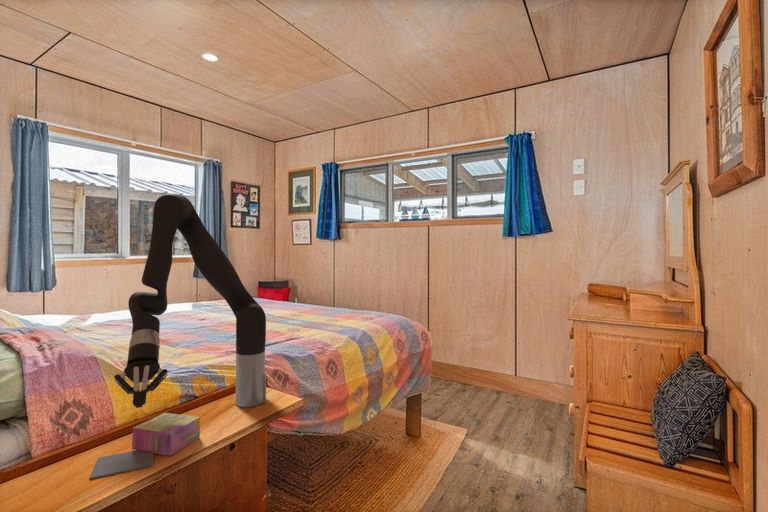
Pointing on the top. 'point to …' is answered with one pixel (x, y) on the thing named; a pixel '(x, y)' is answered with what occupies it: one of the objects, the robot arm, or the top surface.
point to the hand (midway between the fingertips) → (139, 406)
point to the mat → (121, 463)
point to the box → (166, 433)
